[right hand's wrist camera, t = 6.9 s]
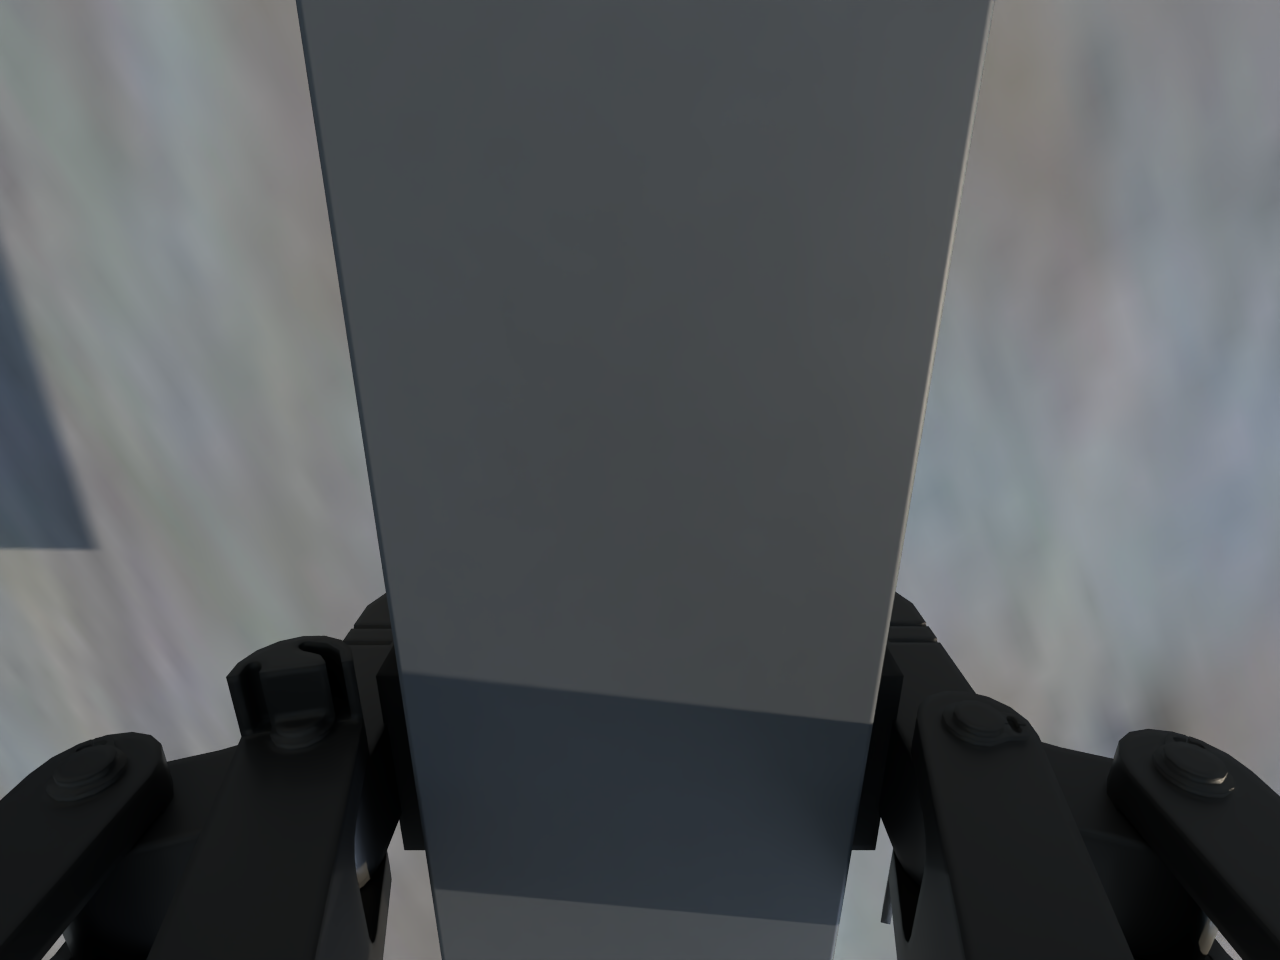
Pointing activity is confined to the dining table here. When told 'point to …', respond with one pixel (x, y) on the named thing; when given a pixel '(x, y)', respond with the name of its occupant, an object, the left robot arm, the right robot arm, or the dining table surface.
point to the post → (641, 434)
